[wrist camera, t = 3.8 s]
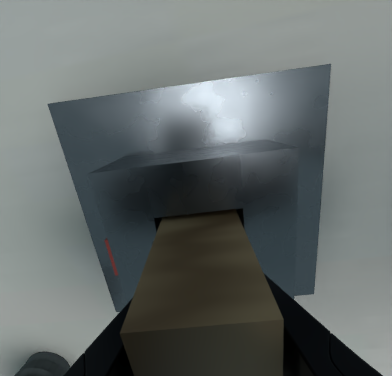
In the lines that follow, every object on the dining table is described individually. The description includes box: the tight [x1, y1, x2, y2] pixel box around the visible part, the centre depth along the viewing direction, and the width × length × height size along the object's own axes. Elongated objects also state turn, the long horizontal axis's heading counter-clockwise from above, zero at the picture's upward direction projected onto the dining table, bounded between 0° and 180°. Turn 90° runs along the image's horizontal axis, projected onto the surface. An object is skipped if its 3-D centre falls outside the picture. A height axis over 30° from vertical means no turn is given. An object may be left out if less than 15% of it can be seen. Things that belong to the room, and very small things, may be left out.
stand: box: [48, 64, 331, 312], centre depth 14 cm, size 18×18×6 cm
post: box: [120, 209, 284, 376], centre depth 10 cm, size 4×4×10 cm
